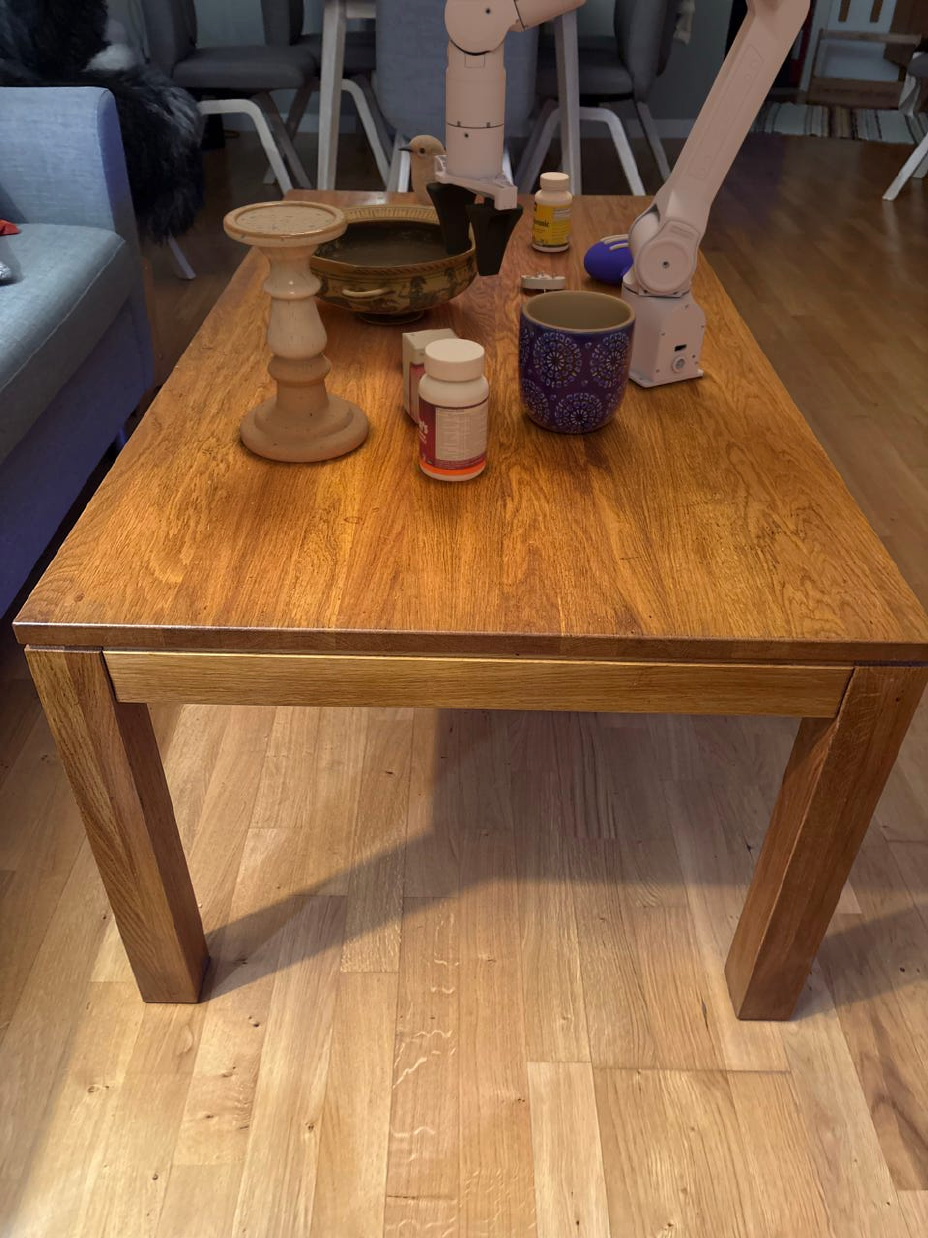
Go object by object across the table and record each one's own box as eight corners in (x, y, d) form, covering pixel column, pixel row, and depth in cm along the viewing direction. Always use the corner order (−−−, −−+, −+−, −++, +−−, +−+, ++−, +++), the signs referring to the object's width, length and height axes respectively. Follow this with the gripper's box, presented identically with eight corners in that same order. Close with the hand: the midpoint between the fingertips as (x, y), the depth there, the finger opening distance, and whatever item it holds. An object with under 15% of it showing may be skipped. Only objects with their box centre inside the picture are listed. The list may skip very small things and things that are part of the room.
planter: (640, 411, 99) (655, 303, 92) (595, 454, 92) (608, 340, 85) (544, 386, 103) (552, 281, 97) (495, 426, 96) (499, 315, 89)
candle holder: (230, 415, 97) (200, 202, 84) (350, 398, 100) (337, 192, 88) (254, 473, 88) (224, 244, 75) (384, 452, 91) (376, 230, 79)
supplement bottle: (525, 243, 143) (528, 172, 137) (557, 239, 145) (562, 169, 139) (542, 254, 139) (547, 181, 133) (575, 250, 141) (581, 178, 135)
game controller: (556, 281, 130) (558, 261, 128) (587, 312, 121) (589, 292, 120) (516, 284, 129) (517, 264, 127) (544, 316, 120) (546, 295, 118)
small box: (415, 425, 96) (414, 348, 91) (402, 407, 99) (401, 331, 94) (463, 418, 97) (464, 342, 92) (449, 400, 100) (450, 326, 96)
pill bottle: (417, 452, 91) (415, 335, 84) (482, 450, 92) (486, 334, 85) (421, 485, 87) (420, 364, 80) (489, 482, 87) (494, 362, 80)
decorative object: (596, 241, 122) (578, 229, 131) (591, 289, 125) (574, 274, 134) (677, 243, 123) (654, 231, 132) (670, 291, 126) (648, 276, 135)
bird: (397, 245, 141) (394, 132, 132) (485, 239, 144) (489, 128, 135) (404, 255, 137) (401, 139, 128) (495, 249, 140) (499, 135, 131)
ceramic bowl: (325, 268, 133) (319, 190, 126) (499, 279, 130) (502, 201, 124) (257, 354, 109) (246, 264, 103) (468, 370, 107) (470, 278, 100)
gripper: (407, 111, 98) (409, 248, 107) (472, 141, 88) (469, 290, 96) (469, 106, 101) (466, 240, 109) (539, 134, 91) (530, 280, 99)
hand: (471, 263), depth 103 cm, fingers open, 7 cm apart
